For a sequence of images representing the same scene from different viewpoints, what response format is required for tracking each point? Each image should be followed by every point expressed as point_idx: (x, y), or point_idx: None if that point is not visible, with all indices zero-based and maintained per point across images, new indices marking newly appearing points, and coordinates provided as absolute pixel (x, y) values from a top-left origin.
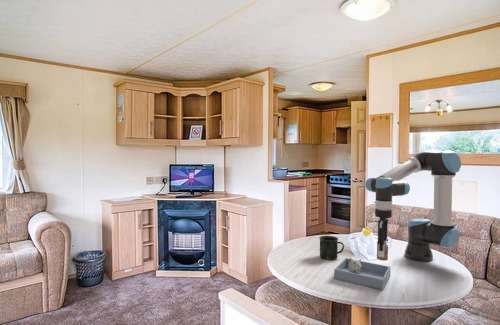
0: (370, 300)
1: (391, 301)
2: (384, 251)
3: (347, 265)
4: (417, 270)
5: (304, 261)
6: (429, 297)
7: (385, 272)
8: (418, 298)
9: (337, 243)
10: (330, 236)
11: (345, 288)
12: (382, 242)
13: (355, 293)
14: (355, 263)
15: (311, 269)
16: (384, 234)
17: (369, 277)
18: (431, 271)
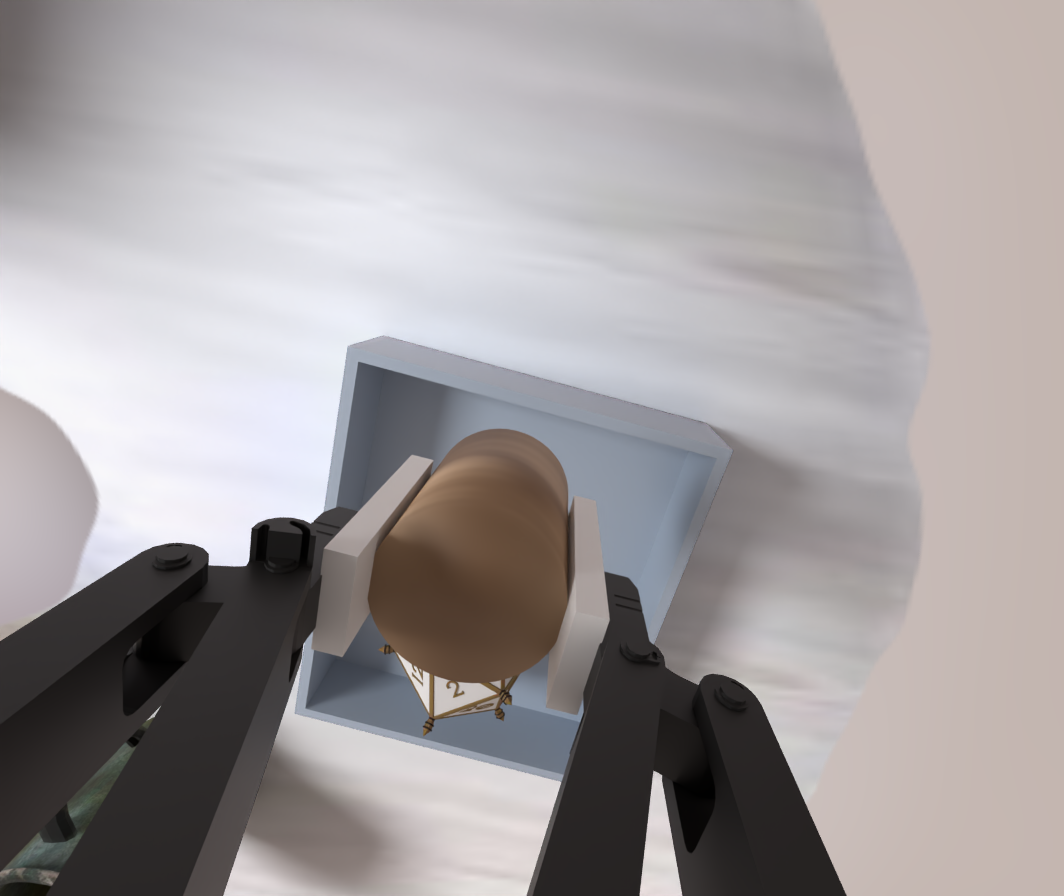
0: (896, 521)
1: (893, 378)
2: (563, 530)
3: (500, 714)
4: (107, 32)
5: (355, 882)
6: (761, 24)
7: (377, 381)
8: (802, 141)
9: (79, 831)
10: None
11: (731, 663)
12: (760, 729)
13: (799, 608)
14: (505, 682)
15: (477, 843)
16: (594, 847)
17: (688, 555)
18: None
